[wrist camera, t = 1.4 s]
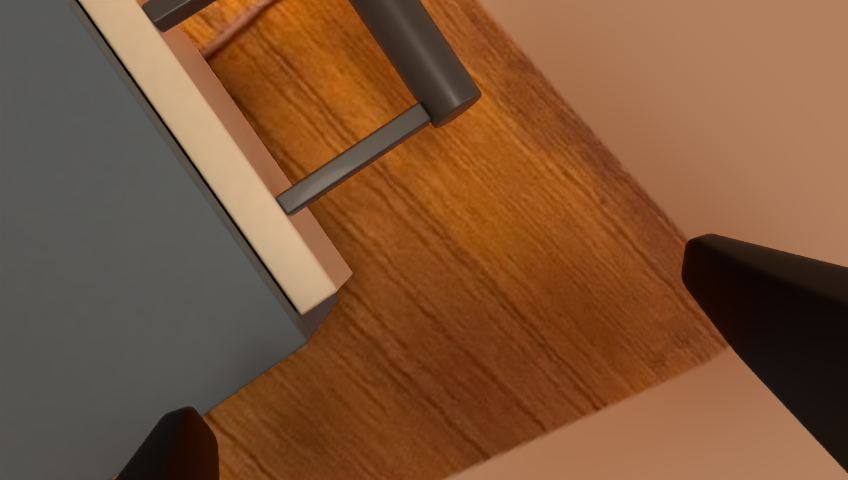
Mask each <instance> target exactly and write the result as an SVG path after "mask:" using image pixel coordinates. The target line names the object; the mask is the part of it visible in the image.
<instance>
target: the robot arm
mask: <svg viewBox="0 0 848 480" xmlns="http://www.w3.org/2000/svg"><path fill="white" fill-rule="evenodd" d="M681 275H682V280H683V283H684V285H685V287H686V289H687V290H688V291H689V293H690V294H691V295H692V296H693V298H694V299H695V300H696V302H697V303H698V304H699V306H700V307H701V308H702V310H703V311H704V312H705V314H706V315H707V316H708V317H709V319H710V320H711V321H712V323H713V324H714V325H715V327H716V328H717V329H718V331H719V332H720V333H721V335H722V336H723V337H724V338H725V340H726V341H727V342H728V344H729V345H730V346H731V347H732V349H733V350H734V351H735V352H736V353H737V354H738V355H739V357H740V358H741V359H742V360H743V361H744V362H745V364H746V365H747V366H748V367H749V368H750V369H751V370H752V371H753V372H754V373H755V374H756V375H757V377H758V378H759V379H760V380H761V381H762V382H763V383H764V384H765V385H766V386H767V387H768V388H769V389H770V390H771V391H772V393H773V394H774V395H775V396H776V397H777V398H778V399H779V400H780V401H781V402H782V403H783V404H784V405H785V407H786V408H787V409H788V410H789V411H790V412H791V413H792V414H793V415H794V416H795V417H796V418H797V419H798V420H799V422H801V424H802V425H803V426H804V427H805V428H806V429H807V430H808V431H809V432H810V433H811V434H812V436H814V438H815V439H816V440H817V441H818V442H819V443H820V444H821V445H822V446H823V447H824V448H825V450H826V451H827V452H829V454H830V455H831V456H832V457H833V458H834V459H835V460H836V461H837V462H838V463H839V465H840V466H841V467H842V468H843V469H844V470H845V471H846V472H847V473H848V267H844V266H840V265H836V264H832V263H827V262H823V261H819V260H816V259H812V258H808V257H804V256H800V255H795V254H791V253H787V252H784V251H779V250H775V249H771V248H768V247H764V246H760V245H756V244H752V243H748V242H744V241H740V240H736V239H732V238H728V237H724V236H719V235H716V234H705V235H702V236H699V237H696V238H693V239H691V240H689V241H688V242H687V244H686V246H685V252H684V259H683V266H682V274H681ZM115 480H219V457H218V444H217V440H216V437H215V435H214V433H213V431H212V430H211V429H210V428H209V426H208V425H207V424H206V422H205V421H204V420H203V418H202V417H201V416H200V414H199V413H198V412H197V410H196V409H195V408H193V407H191V406H186V407H183V408H180V409H177V410H174V411H171V412H168V413H166V414H165V415H164V416H163V417H162V418H161V419H160V420H159V421H158V423H157V424H156V425H155V427H154V428H153V430H152V431H151V432H150V434H149V435H148V436H147V438H146V439H145V440H144V442H143V443H142V444H141V446H140V447H139V448H138V450H137V451H136V452H135V454H134V455H133V456H132V458H131V459H130V460H129V462H128V463H127V464H126V466H125V467H124V468H123V470H122V471H121V472H120V474H119V475H118V476H117V478H116V479H115Z"/></svg>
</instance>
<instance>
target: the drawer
mask: <svg viewBox="0 0 848 480" xmlns="http://www.w3.org/2000/svg"><path fill="white" fill-rule="evenodd" d="M78 1H79V2H80V4H81V5H82V6H83V8H84V9H85V11H86V12H87V14H88V15H89V16H90V18H91V19H92V21H93V22H94V23H95V25H96V26H97V28H98V29H99V31H100V32H101V33H102V35H103V36H104V38H105V39H106V40H107V42H108V43H109V45H110V46H111V48H112V49H113V50H114V52H115V53H116V55H117V56H118V57H119V59H120V60H121V62H122V63H123V65H124V66H125V67H126V69H127V70H128V72H129V73H130V74H131V76H132V77H133V79H134V80H133V79H132V78H131V77H130V78H131V80H132V81H133V83H134V84H135V86H136V87H137V88H138V90H139V91H140V93H141V94H142V95H143V97H144V98H145V100H146V101H147V103H148V104H149V105H150V107H151V108H152V110H153V111H154V112H155V114H156V115H157V117H158V118H159V120H160V121H161V122H162V124H163V125H164V127H165V128H166V129H167V131H168V132H169V134H170V135H171V137H172V138H173V139H174V141H175V142H176V144H177V145H178V146H179V148H180V149H181V151H182V152H183V153H184V155H185V156H186V158H187V159H188V161H189V162H190V163H191V165H192V166H193V168H194V169H195V170H196V172H197V173H198V175H199V176H200V178H201V179H202V180H203V182H204V183H205V185H206V186H207V187H208V189H209V190H210V192H211V193H212V195H213V196H214V197H215V199H216V200H217V202H218V203H219V204H220V206H221V207H222V209H223V210H224V212H225V213H226V214H227V216H228V217H229V219H230V220H231V221H232V223H233V224H234V226H235V227H236V229H237V230H238V231H239V233H240V234H241V236H242V237H243V238H244V240H245V241H246V243H247V244H248V246H249V247H250V248H251V250H252V251H253V253H254V254H255V255H256V257H257V258H258V260H259V261H260V263H261V264H262V265H263V267H264V268H265V270H266V271H267V272H268V274H269V275H270V277H271V278H272V280H273V281H274V282H275V284H276V285H277V287H278V288H279V289H280V291H281V292H282V294H283V295H284V297H285V298H289V300H290V301H291V303H292V304H293V305H294V307H295V308H296V310H297V311H298V312H299V314H301V315H303V314H305V313H306V312H308V311H309V310H311V309H312V308H314V307H315V306H317V305H318V304H320V303H321V302H322V301H324V300H325V299H327V298H328V297H330V296H331V295H333V294H334V293H336V292H337V291H338V289H339V288H340V287H341V286H342V285H343V284H344V283H345V282H346V281H347V280H348V278H349V277H350V276H351V275H352V274H353V273H352V271H351V269H350V268H349V266H348V265H347V264H346V262H345V261H344V259H343V258H342V256H341V255H340V254H339V252H338V251H337V249H336V248H335V246H334V245H333V243H332V242H331V241H330V239H329V238H328V236H327V235H326V233H325V232H324V231H323V229H322V228H321V226H320V225H319V223H318V222H317V220H316V219H315V218H314V216H313V215H312V213H311V212H310V210H309V209H308V208H307V206H308V205H309V204H311V203H312V202H314V201H315V200H317V199H318V198H320V197H321V196H323V195H324V194H326V193H327V192H329V191H330V190H332V189H333V188H335V187H336V186H338V185H339V184H341V183H342V182H344V181H345V180H347V179H348V178H350V177H351V176H353V175H354V174H356V173H357V172H359V171H360V170H362V169H363V168H365V167H366V166H368V165H369V164H371V163H372V162H374V161H375V160H377V159H378V158H380V157H381V156H383V155H384V154H386V153H387V152H389V151H390V150H392V149H393V148H395V147H396V146H398V145H399V144H401V143H402V142H404V141H405V140H407V139H408V138H410V137H411V136H413V135H414V134H416V133H417V132H419V131H420V130H422V129H423V128H425V127H426V126H428V125H429V123H430V122H431V123H432V125H433V126H434V127H435V128H439V127H442V126H444V125H445V124H447V123H449V122H450V121H452V120H454V119H455V118H457V117H458V116H459V115H461V114H462V113H463V112H465V111H466V110H467V109H469V108H470V107H471V106H472V105H473V104H475V103H476V102H477V101H478V100H479V98H480V97H481V95H482V93H481V91H480V90H479V88H478V87H477V85H476V84H475V82H474V81H473V79H472V78H471V76H470V75H469V73H468V72H467V70H466V69H465V67H464V66H463V64H462V63H461V61H460V60H459V58H458V57H457V55H456V54H455V52H454V51H453V49H452V48H451V46H450V45H449V43H448V42H447V40H446V39H445V37H444V36H443V34H442V33H441V31H440V30H439V28H438V27H437V25H436V24H435V22H434V21H433V19H432V18H431V16H430V15H429V13H428V12H427V10H426V9H425V7H424V6H423V4H422V3H421V1H420V0H349V2H350V3H351V5H352V6H353V8H354V9H355V11H356V12H357V14H358V15H359V17H360V18H361V20H362V21H363V23H364V24H365V25H366V27H367V28H368V30H369V31H370V33H371V34H372V36H373V37H374V39H375V40H376V42H377V43H378V45H379V46H380V48H381V49H382V51H383V52H384V54H385V55H386V57H387V58H388V60H389V61H390V63H391V64H392V66H393V67H394V69H395V70H396V71H397V73H398V74H399V76H400V77H401V79H402V80H403V82H404V83H405V85H406V86H407V88H408V89H409V91H410V92H411V94H412V95H413V97H414V98H415V100H416V101H417V103H416V104H415V105H413V106H412V107H410V108H409V109H407V110H406V111H404V112H403V113H401V114H400V115H398V116H397V117H395V118H394V119H392V120H391V121H389V122H388V123H386V124H385V125H383V126H382V127H380V128H379V129H377V130H376V131H374V132H373V133H371V134H370V135H368V136H367V137H365V138H364V139H362V140H361V141H359V142H357V143H356V144H354V145H353V146H351V147H350V148H348V149H347V150H345V151H344V152H342V153H341V154H339V155H338V156H336V157H335V158H333V159H332V160H330V161H329V162H327V163H326V164H324V165H323V166H321V167H320V168H318V169H317V170H315V171H314V172H312V173H311V174H309V175H308V176H306V177H305V178H303V179H302V180H300V181H299V182H297V183H296V184H294V185H293V186H292V185H291V183H290V182H289V180H288V179H287V177H286V176H285V174H284V173H283V172H282V170H281V169H280V167H279V166H278V164H277V163H276V162H275V160H274V159H273V157H272V156H271V154H270V153H269V151H268V150H267V149H266V147H265V146H264V144H263V143H262V141H261V140H260V139H259V137H258V136H257V134H256V133H255V131H254V130H253V128H252V127H251V126H250V124H249V123H248V121H247V120H246V118H245V117H244V116H243V114H242V113H241V111H240V110H239V108H238V107H237V105H236V104H235V103H234V101H233V100H232V98H231V97H230V95H229V94H228V93H227V91H226V90H225V88H224V87H223V85H222V84H221V82H220V81H219V80H218V78H217V77H216V75H215V74H214V72H213V71H212V70H211V68H210V67H209V65H208V64H207V62H206V61H205V60H204V58H203V57H202V55H201V54H200V52H199V51H198V49H197V48H196V47H195V45H194V44H193V42H192V41H191V39H190V38H189V37H188V36H187V35H186V34H185V33H184V32H183V31H182V30H181V28H180V27H179V26H178V25H177V24H179V23H181V22H182V21H184V20H185V19H187V18H189V17H190V16H192V15H193V14H195V13H197V12H198V11H200V10H202V9H203V8H205V7H206V6H208V5H210V4H211V3H213V2H214V1H216V0H78Z"/></svg>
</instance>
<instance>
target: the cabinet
mask: <svg viewBox="0 0 848 480" xmlns="http://www.w3.org/2000/svg"><path fill="white" fill-rule="evenodd" d="M130 77H131V78H132V79H133V77H132V76H131V74H130V73H129V72H128V70H127V69H126V67H125V66H124V65H123V63H122V62H121V60H120V59H119V57H118V56H117V55H116V53H115V52H114V50H113V49H112V48H111V46H110V45H109V43H108V42H107V40H106V39H105V38H104V36H103V35H102V33H101V32H100V31H99V29H98V28H97V26H96V25H95V23H94V22H93V21H92V19H91V18H90V16H89V15H88V14H87V12H86V11H85V9H84V8H83V6H82V5H81V4H80V2H79V1H78V0H0V480H110V479H112V478H113V477H115V476H116V475H118V474H119V473H120V472H121V471H122V470H123V468H124V467H125V466H126V464H127V463H128V462H129V460H130V459H131V458H132V456H133V455H134V454H135V452H136V451H137V450H138V448H139V447H140V446H141V444H142V443H143V442H144V440H145V439H146V438H147V436H148V435H149V434H150V432H151V431H152V430H153V428H154V427H155V425H156V424H157V423H158V421H159V420H160V419H161V418H162V417H163V416H164V415H165V414H166V413H168V412H171V411H174V410H177V409H180V408H183V407H186V406H191V407H193V408H195V409H196V410H197V412H198V413H199V414H200V416H203V415H204V414H206V413H207V412H208V411H210V410H211V409H213V408H214V407H216V406H217V405H219V404H220V403H221V402H223V401H224V400H226V399H227V398H229V397H230V396H232V395H233V394H234V393H236V392H237V391H239V390H240V389H242V388H243V387H245V386H246V385H247V384H249V383H250V382H252V381H253V380H255V379H256V378H257V377H259V376H260V375H262V374H263V373H265V372H266V371H268V370H269V369H270V368H272V367H273V366H275V365H276V364H278V363H279V362H281V361H282V360H283V359H285V358H286V357H288V356H289V355H291V354H292V353H294V352H295V351H296V350H298V349H299V348H301V347H302V346H304V345H305V344H306V343H307V342H308V341H309V339H310V338H311V337H312V335H313V333H314V332H315V331H316V329H317V328H318V327H319V325H320V324H321V323H322V321H323V320H324V319H325V317H326V316H327V315H328V313H329V312H330V311H331V309H332V308H333V307H334V305H335V304H336V303H337V301H338V298H337V296H336V295H335V293H334V294H333V295H331V296H330V297H328V298H327V299H325V300H324V301H322V302H321V303H320V304H318V305H317V306H315V307H314V308H312V309H311V310H309V311H308V312H306V313H305V314H303V315H301V314H299V312H298V311H297V310H296V308H295V307H294V305H293V304H292V303H291V301H290V300H289V298H285V297H284V295H283V294H282V292H281V291H280V289H279V288H278V287H277V285H276V284H275V282H274V281H273V280H272V278H271V277H270V275H269V274H268V272H267V271H266V270H265V268H264V267H263V265H262V264H261V263H260V261H259V260H258V258H257V257H256V255H255V254H254V253H253V251H252V250H251V248H250V247H249V246H248V244H247V243H246V241H245V240H244V238H243V237H242V236H241V234H240V233H239V231H238V230H237V229H236V227H235V226H234V224H233V223H232V221H231V220H230V219H229V217H228V216H227V214H226V213H225V212H224V210H223V209H222V207H221V206H220V204H219V203H218V202H217V200H216V199H215V197H214V196H213V195H212V193H211V192H210V190H209V189H208V187H207V186H206V185H205V183H204V182H203V180H202V179H201V178H200V176H199V175H198V173H197V172H196V170H195V169H194V168H193V166H192V165H191V163H190V162H189V161H188V159H187V158H186V156H185V155H184V153H183V152H182V151H181V149H180V148H179V146H178V145H177V144H176V142H175V141H174V139H173V138H172V137H171V135H170V134H169V132H168V131H167V129H166V128H165V127H164V125H163V124H162V122H161V121H160V120H159V118H158V117H157V115H156V114H155V112H154V111H153V110H152V108H151V107H150V105H149V104H148V103H147V101H146V100H145V98H144V97H143V95H142V94H141V93H140V91H139V90H138V88H137V87H136V86H135V84H134V83H133V81H132V80H131V78H130ZM133 80H134V79H133Z"/></svg>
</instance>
